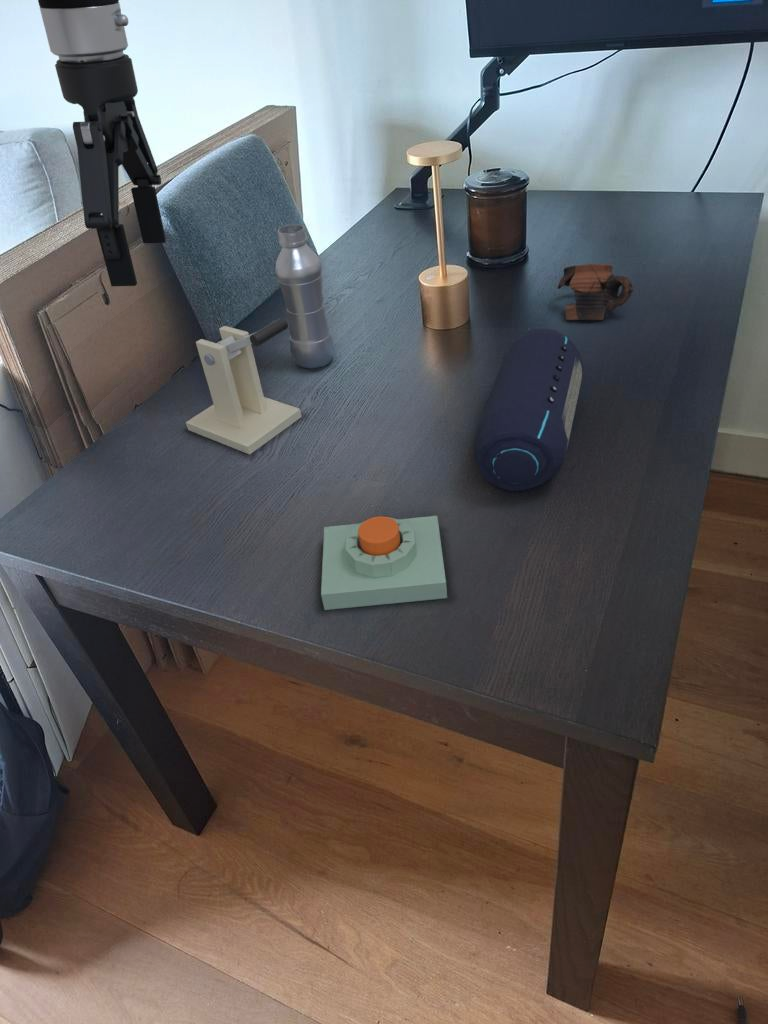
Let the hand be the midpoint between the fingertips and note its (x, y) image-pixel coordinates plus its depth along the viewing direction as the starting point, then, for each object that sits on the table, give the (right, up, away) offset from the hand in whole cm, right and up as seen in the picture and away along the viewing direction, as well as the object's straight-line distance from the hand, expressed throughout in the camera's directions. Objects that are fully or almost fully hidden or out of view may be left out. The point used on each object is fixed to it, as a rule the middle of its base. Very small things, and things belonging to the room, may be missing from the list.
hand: (140, 262), depth 90 cm
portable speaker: (+47, -21, +2) cm, 51 cm away
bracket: (+10, -18, +12) cm, 24 cm away
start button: (+29, -33, -15) cm, 46 cm away
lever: (+13, -10, +2) cm, 16 cm away
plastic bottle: (+19, -7, +24) cm, 31 cm away
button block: (+29, -35, -12) cm, 47 cm away
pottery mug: (+61, +1, +27) cm, 67 cm away
